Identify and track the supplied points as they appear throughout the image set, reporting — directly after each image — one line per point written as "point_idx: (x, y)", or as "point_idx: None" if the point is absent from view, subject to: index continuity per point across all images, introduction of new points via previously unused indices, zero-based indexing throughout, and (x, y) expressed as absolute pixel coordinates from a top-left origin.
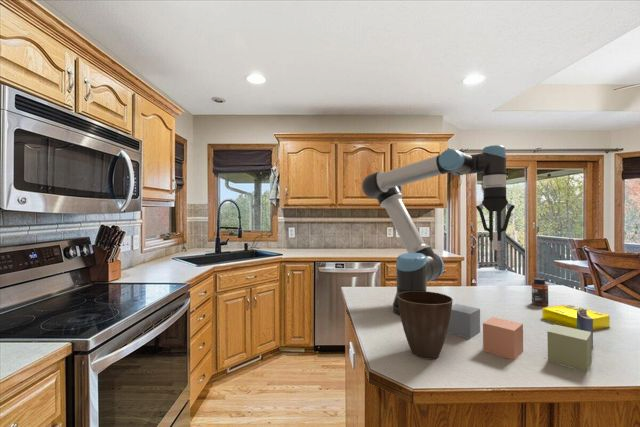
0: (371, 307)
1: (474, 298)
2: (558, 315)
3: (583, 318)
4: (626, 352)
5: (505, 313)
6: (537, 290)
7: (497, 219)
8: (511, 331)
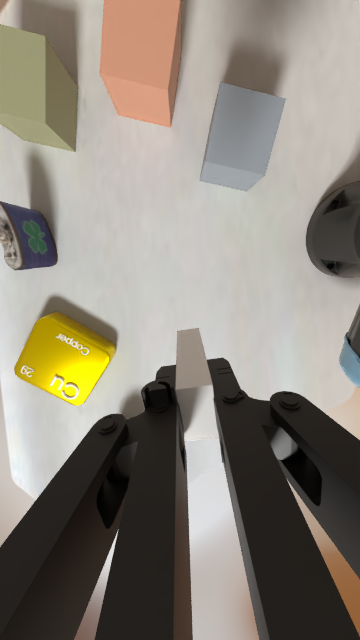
0: None
1: None
2: (83, 335)
3: (3, 205)
4: None
5: (173, 340)
6: None
7: (167, 562)
8: None
